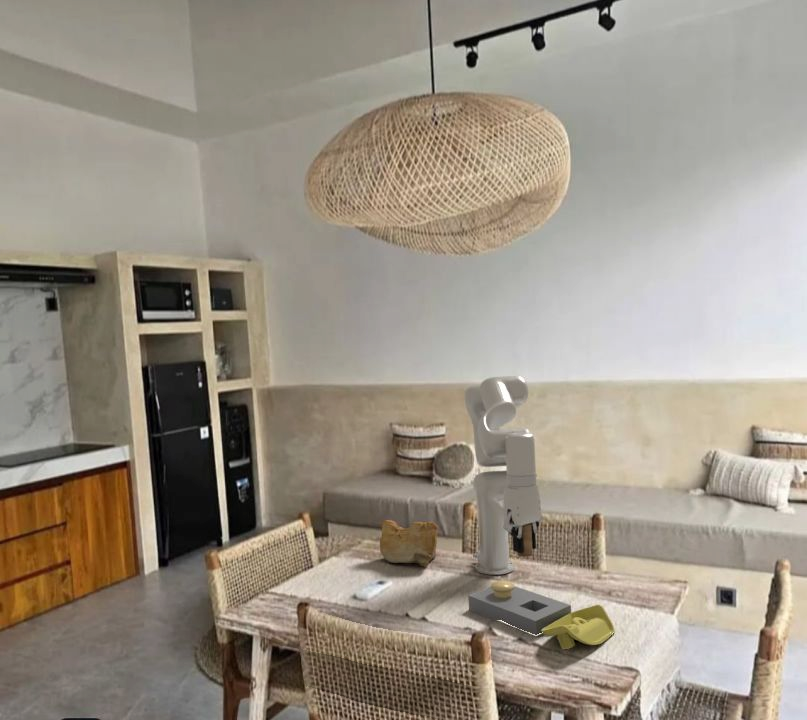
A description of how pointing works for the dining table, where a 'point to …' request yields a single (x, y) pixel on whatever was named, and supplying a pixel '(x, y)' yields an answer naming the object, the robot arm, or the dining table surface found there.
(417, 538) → the rough brown rock
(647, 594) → the dining table surface
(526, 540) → the gear shaft
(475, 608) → the grey block with hole
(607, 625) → the plastic component
